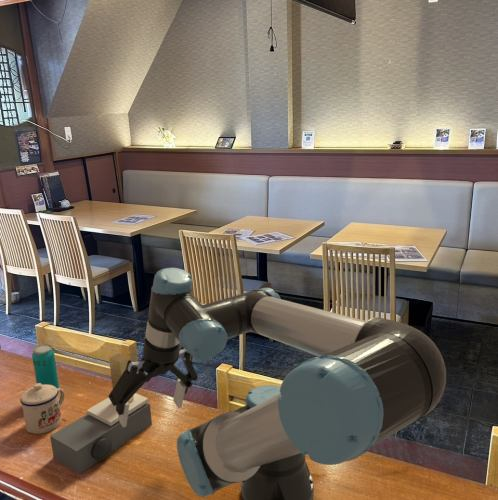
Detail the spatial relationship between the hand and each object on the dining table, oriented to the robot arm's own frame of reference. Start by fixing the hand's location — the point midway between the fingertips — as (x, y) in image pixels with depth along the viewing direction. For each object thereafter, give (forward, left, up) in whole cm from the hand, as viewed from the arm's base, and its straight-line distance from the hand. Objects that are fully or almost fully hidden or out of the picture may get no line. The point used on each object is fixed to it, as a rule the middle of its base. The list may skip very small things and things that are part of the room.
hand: (150, 413), depth 113 cm
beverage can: (+45, +7, -13) cm, 48 cm away
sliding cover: (+16, 0, -6) cm, 17 cm away
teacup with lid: (+33, +12, -13) cm, 38 cm away
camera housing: (+15, +5, -13) cm, 20 cm away
